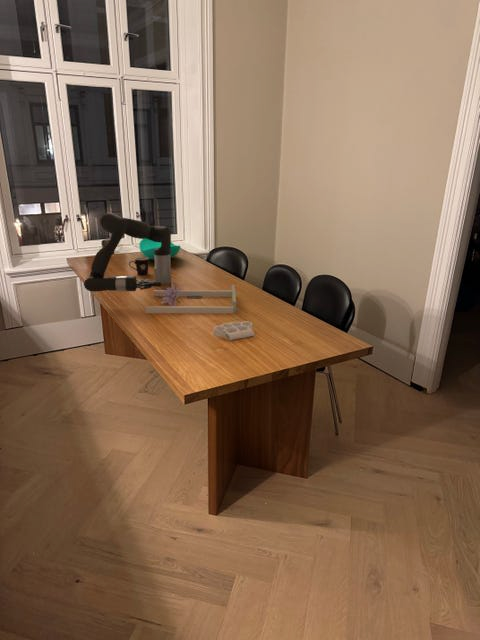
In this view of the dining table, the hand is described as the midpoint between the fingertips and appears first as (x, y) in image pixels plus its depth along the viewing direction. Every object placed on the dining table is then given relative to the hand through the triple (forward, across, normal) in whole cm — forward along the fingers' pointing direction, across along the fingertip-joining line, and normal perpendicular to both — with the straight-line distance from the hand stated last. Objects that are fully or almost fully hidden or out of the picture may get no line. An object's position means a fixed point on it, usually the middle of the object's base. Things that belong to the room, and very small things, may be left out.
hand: (160, 284), depth 218 cm
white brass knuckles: (+36, -38, +12) cm, 54 cm away
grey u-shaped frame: (+16, 0, +10) cm, 19 cm away
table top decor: (-13, +98, +9) cm, 100 cm away
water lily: (+4, 0, +11) cm, 12 cm away
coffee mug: (-21, +60, +10) cm, 64 cm away
